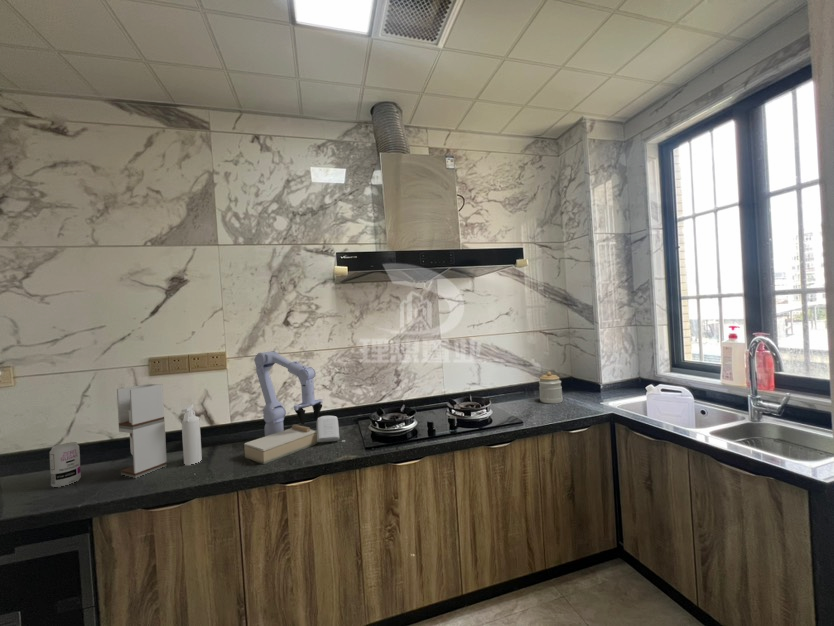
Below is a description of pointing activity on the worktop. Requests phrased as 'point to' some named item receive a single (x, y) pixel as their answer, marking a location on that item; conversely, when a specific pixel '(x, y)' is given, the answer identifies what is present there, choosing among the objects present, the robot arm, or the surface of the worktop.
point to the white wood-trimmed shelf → (143, 427)
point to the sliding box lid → (280, 438)
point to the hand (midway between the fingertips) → (309, 421)
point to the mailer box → (280, 449)
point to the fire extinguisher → (191, 436)
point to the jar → (550, 389)
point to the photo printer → (327, 429)
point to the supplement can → (65, 464)
